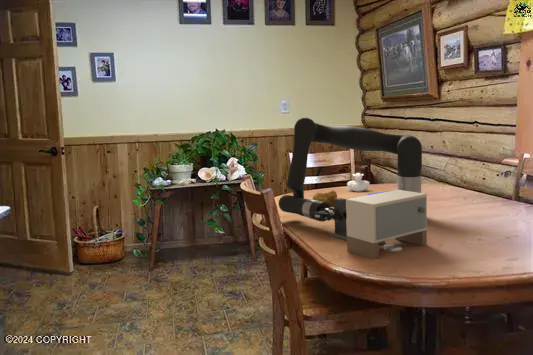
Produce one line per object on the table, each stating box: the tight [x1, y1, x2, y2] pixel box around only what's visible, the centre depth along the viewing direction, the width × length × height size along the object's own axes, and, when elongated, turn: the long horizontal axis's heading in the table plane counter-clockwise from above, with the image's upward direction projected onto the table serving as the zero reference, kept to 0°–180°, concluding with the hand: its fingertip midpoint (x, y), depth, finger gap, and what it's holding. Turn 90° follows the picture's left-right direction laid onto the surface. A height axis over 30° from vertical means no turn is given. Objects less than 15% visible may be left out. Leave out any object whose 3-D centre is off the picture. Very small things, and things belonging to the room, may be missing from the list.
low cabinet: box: [345, 189, 428, 260], centre depth 164 cm, size 14×24×17 cm, turn 123°
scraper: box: [330, 197, 386, 246], centre depth 176 cm, size 20×7×13 cm, turn 33°
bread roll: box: [311, 190, 338, 207], centre depth 236 cm, size 13×10×8 cm
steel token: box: [382, 242, 404, 253], centre depth 164 cm, size 6×6×2 cm
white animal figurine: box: [346, 172, 371, 193], centre depth 271 cm, size 12×8×11 cm
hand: (346, 217), depth 181 cm, fingers closed on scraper, 3 cm apart
